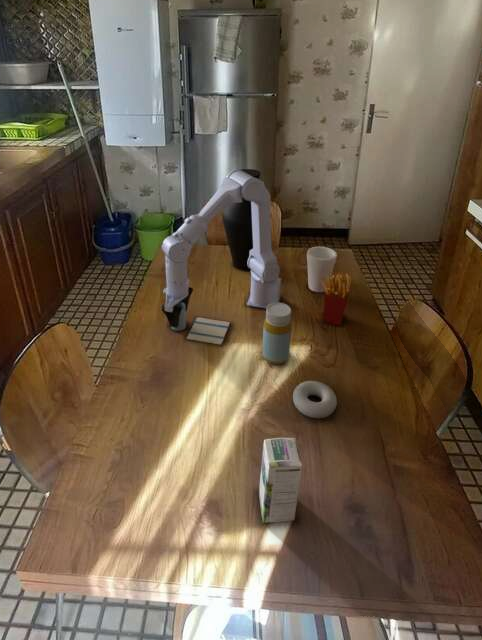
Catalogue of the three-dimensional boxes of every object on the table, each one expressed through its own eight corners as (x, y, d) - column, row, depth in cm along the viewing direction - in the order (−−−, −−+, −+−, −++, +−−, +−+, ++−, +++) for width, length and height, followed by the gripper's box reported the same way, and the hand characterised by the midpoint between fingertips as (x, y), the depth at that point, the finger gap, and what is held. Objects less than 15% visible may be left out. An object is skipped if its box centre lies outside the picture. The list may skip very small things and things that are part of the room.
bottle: (287, 367, 111) (291, 319, 105) (260, 363, 113) (263, 315, 106) (289, 349, 117) (293, 303, 111) (263, 346, 119) (266, 300, 112)
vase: (224, 252, 168) (225, 164, 153) (268, 255, 167) (274, 166, 152) (218, 274, 153) (219, 179, 138) (267, 278, 152) (273, 181, 136)
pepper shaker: (188, 322, 128) (187, 299, 124) (183, 331, 124) (182, 308, 120) (174, 320, 129) (172, 297, 125) (168, 329, 125) (167, 305, 121)
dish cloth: (229, 323, 128) (229, 322, 128) (221, 344, 119) (221, 343, 119) (197, 318, 130) (197, 317, 130) (186, 339, 121) (186, 337, 121)
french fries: (343, 328, 126) (350, 284, 120) (315, 321, 129) (320, 278, 123) (347, 312, 134) (354, 269, 127) (320, 306, 136) (326, 264, 130)
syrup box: (258, 492, 81) (261, 438, 75) (289, 490, 81) (295, 435, 75) (262, 524, 76) (267, 468, 70) (296, 521, 76) (303, 465, 70)
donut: (333, 427, 95) (338, 394, 103) (334, 416, 93) (340, 383, 102) (288, 415, 98) (296, 383, 106) (289, 403, 96) (297, 373, 105)
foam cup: (299, 289, 145) (302, 254, 139) (309, 277, 152) (313, 244, 147) (326, 297, 141) (331, 262, 135) (336, 285, 148) (340, 251, 142)
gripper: (172, 263, 126) (174, 302, 132) (152, 289, 114) (156, 331, 120) (195, 266, 125) (196, 306, 131) (178, 293, 112) (180, 335, 118)
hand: (178, 318), depth 125 cm, fingers open, 7 cm apart
